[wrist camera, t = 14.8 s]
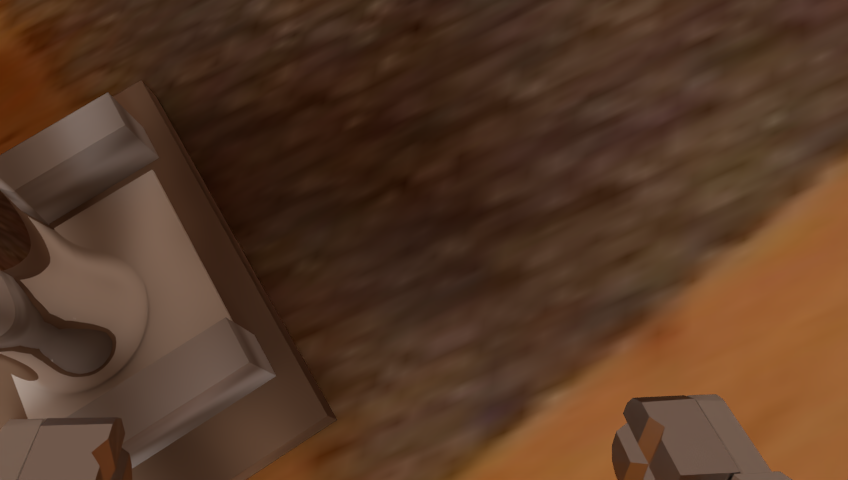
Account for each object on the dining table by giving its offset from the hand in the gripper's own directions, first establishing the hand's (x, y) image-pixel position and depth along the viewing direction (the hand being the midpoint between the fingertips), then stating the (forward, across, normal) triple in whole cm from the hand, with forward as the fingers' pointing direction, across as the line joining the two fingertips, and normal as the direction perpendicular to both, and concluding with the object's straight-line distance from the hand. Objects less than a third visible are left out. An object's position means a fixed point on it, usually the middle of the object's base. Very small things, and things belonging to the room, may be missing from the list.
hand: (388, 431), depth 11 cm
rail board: (+18, +10, +12) cm, 24 cm away
